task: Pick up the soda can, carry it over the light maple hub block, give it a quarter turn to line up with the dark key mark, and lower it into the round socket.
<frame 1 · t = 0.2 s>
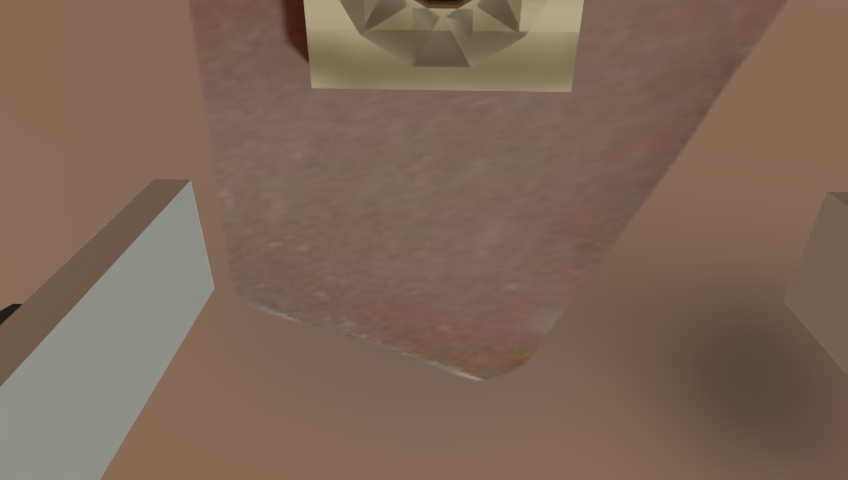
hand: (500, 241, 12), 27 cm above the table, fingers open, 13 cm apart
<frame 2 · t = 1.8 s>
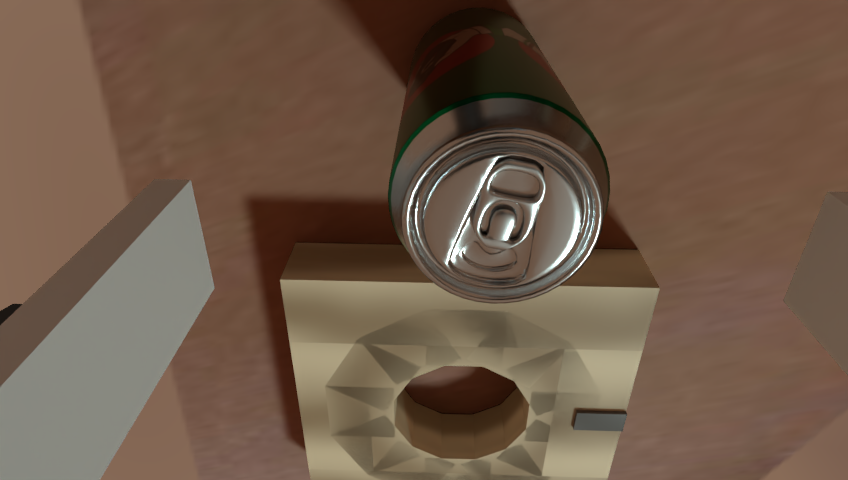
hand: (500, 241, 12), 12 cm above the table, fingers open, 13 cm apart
soda can: (474, 72, 23), on the table
hub block: (459, 371, 31), on the table
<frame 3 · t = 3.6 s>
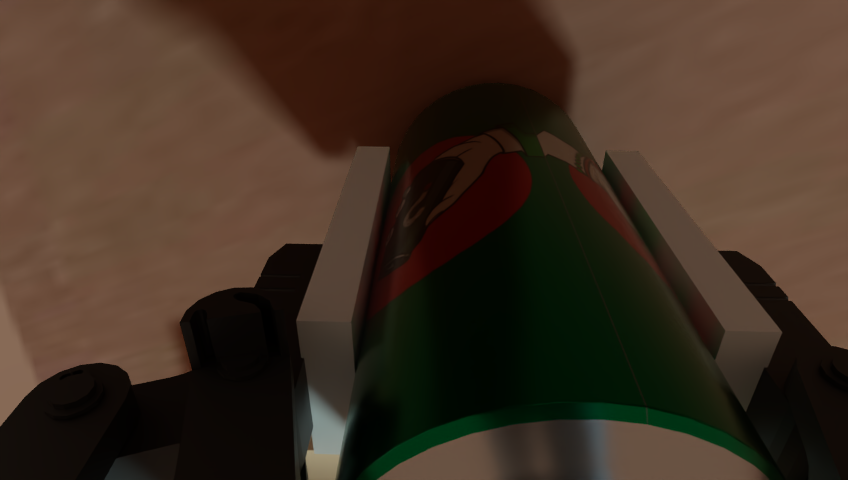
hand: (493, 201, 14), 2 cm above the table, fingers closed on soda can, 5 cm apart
soda can: (487, 166, 16), on the table, touching gripper
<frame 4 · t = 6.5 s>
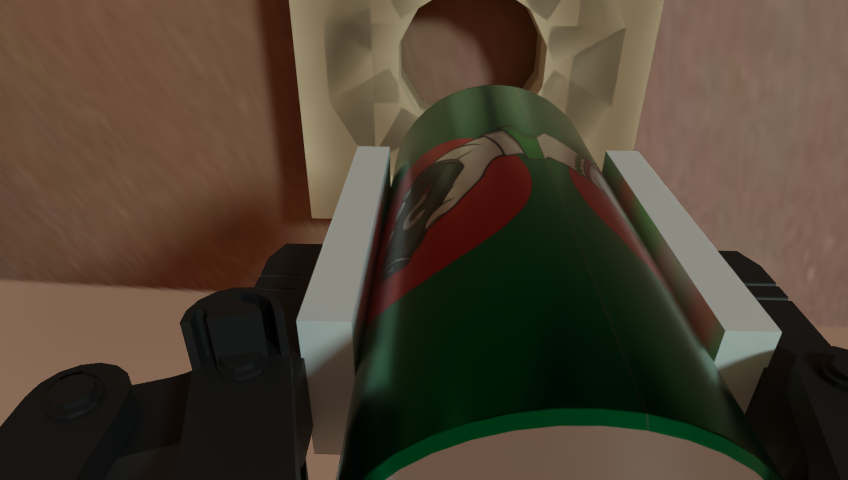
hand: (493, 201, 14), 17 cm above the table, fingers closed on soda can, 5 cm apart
soda can: (487, 167, 16), point 15 cm above the table, touching gripper
hub block: (469, 51, 28), on the table
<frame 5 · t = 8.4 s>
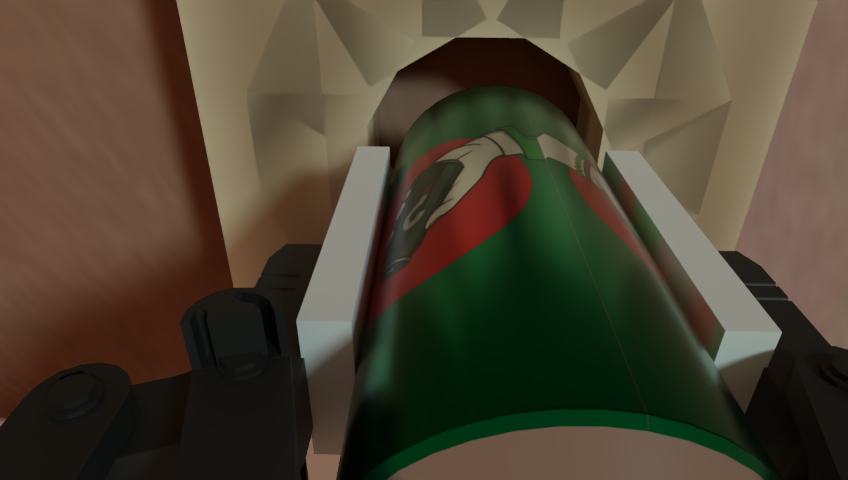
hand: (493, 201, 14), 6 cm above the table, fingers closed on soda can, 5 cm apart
soda can: (487, 168, 16), point 4 cm above the table, touching gripper
hub block: (477, 122, 19), on the table
when the fingers open (4 cm above the table, at t = 9.4 s): soda can drops 3 cm, resting in hub block.
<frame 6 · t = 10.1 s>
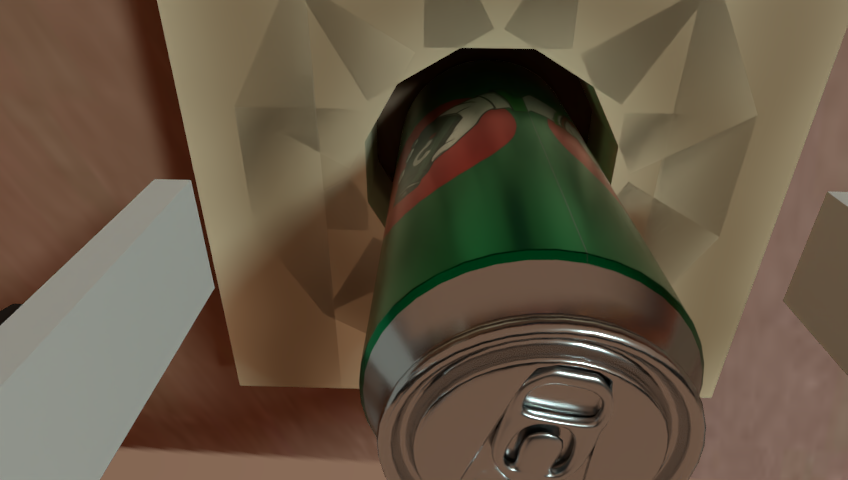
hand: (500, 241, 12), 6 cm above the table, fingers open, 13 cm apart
soda can: (482, 134, 18), resting in hub block
hub block: (482, 136, 18), on the table
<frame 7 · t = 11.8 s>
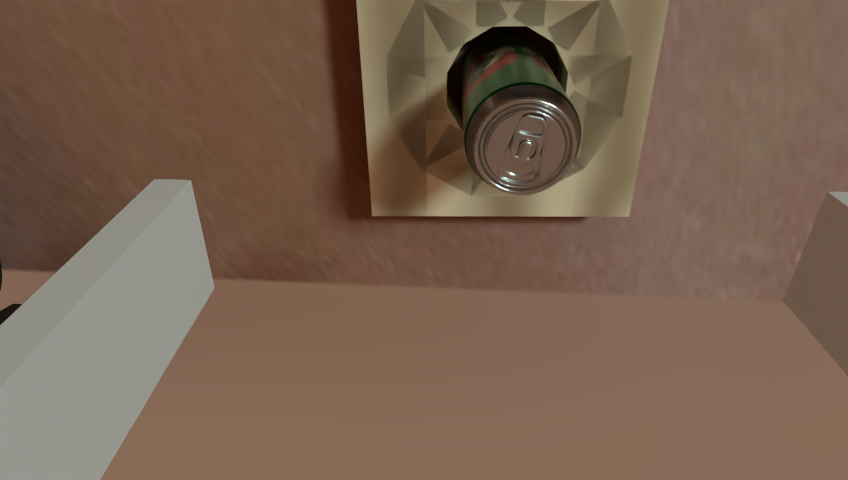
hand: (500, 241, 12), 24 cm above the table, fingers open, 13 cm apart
soda can: (502, 74, 34), resting in hub block
hub block: (502, 75, 34), on the table
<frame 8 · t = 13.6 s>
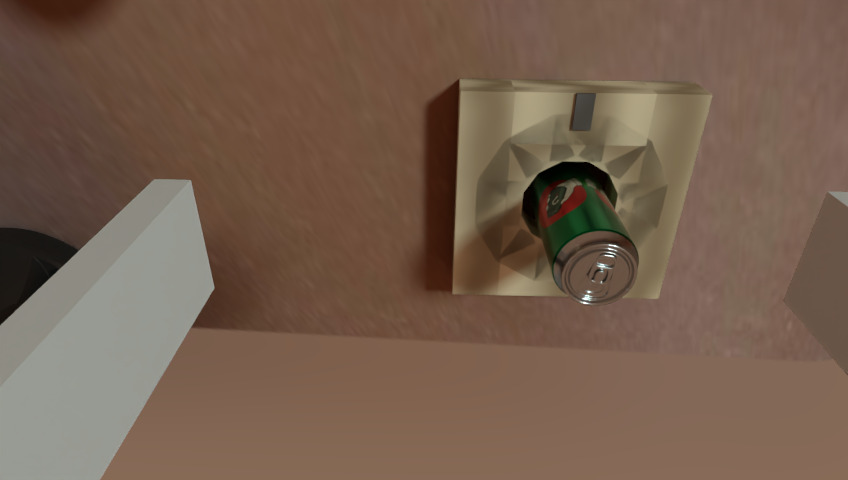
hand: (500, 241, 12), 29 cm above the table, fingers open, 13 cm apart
soda can: (561, 186, 43), resting in hub block
hub block: (561, 186, 43), on the table
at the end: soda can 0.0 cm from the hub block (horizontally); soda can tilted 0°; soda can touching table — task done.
